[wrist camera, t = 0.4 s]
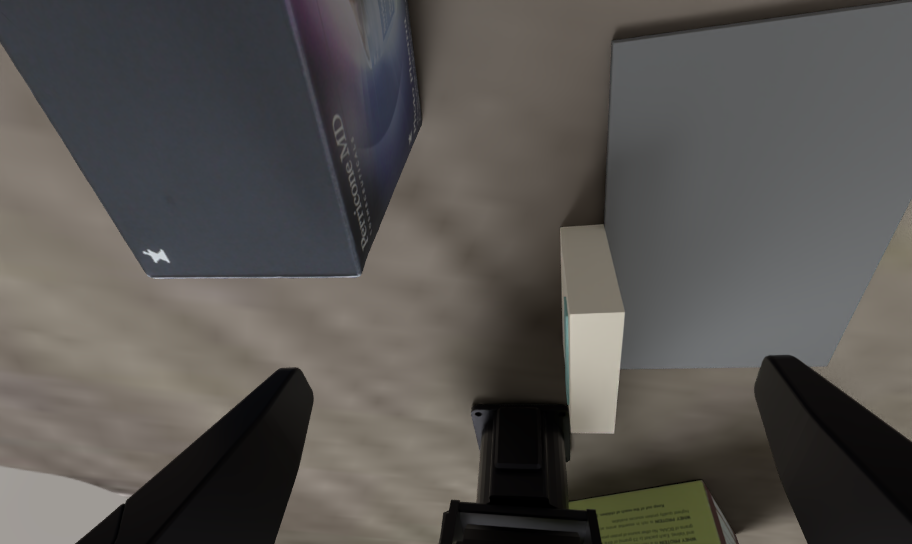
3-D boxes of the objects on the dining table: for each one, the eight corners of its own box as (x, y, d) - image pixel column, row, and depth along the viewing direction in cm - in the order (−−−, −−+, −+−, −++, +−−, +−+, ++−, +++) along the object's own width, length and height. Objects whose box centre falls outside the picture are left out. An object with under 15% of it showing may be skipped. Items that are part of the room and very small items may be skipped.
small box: (433, 128, 20) (372, 290, 12) (290, 133, 21) (141, 288, 13) (392, -232, 13) (189, -421, 5) (184, -202, 14) (-266, -323, 6)
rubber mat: (823, 360, 26) (827, 366, 25) (597, 364, 28) (598, 369, 28) (1008, -16, 15) (1018, -14, 14) (611, 40, 17) (613, 43, 17)
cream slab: (598, 340, 27) (614, 433, 22) (561, 340, 27) (568, 432, 23) (603, 223, 22) (624, 312, 17) (557, 226, 22) (567, 314, 18)
